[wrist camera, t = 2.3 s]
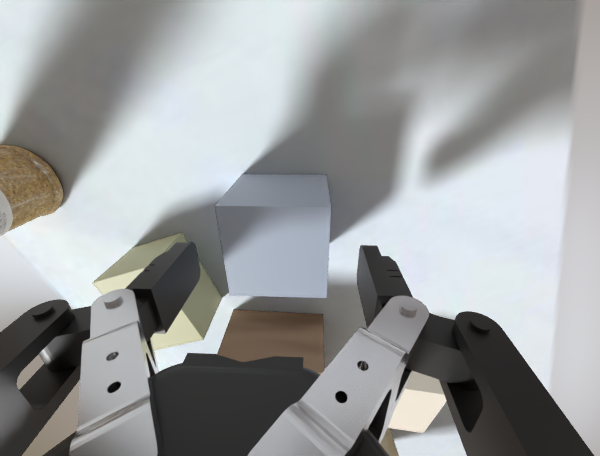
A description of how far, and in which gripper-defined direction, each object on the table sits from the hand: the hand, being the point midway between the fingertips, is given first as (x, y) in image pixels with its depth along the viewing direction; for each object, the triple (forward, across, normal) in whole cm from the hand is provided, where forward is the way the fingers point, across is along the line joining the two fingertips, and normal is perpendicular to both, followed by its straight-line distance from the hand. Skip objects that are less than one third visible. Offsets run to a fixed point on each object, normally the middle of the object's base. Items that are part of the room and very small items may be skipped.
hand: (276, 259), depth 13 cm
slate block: (+5, 0, 0) cm, 5 cm away
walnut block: (+5, +1, +12) cm, 13 cm away
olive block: (+5, +8, +4) cm, 10 cm away
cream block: (+5, -9, +14) cm, 17 cm away
